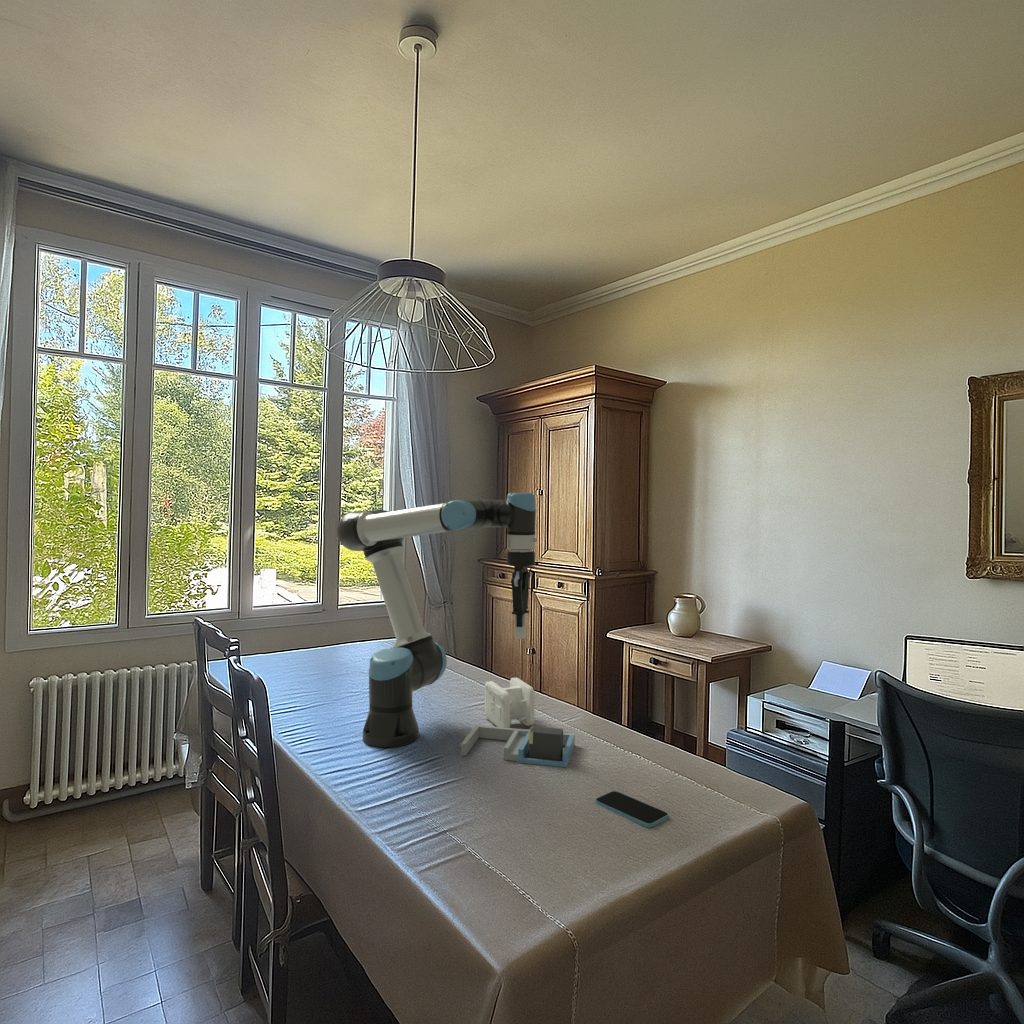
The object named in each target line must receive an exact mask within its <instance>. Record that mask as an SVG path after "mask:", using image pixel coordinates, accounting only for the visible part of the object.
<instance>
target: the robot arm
mask: <svg viewBox="0 0 1024 1024" xmlns="http://www.w3.org/2000/svg"><path fill="white" fill-rule="evenodd" d="M536 513H537V508H536V496H535V494H534V493H532V492H509V493H508V494H507V496H506V499H486V498H477V499H454V500H451V501H449V502H443V503H442V502H441V503H436V504H430V505H424V506H418V507H411V508H405V509H399V510H392V511H391V510H384V509H375V510H355V511H351V512H348V513H346V514H344V515H343V516H342V517H341V518H340V519H339V521H338V523H337V526H336V536H337V539H338V541H339V543H340V545H342V546H343V548H344V547H345V549H347V550H350V551H354V552H363V555H364V558H365V560H366V561H367V562H370V563H371V564H372V566H373V569H374V573H375V576H376V579H377V582H378V585H379V588H380V591H381V595H382V598H383V601H384V604H385V607H386V611H387V613H388V614H387V615H388V616H389V620H390V623H391V627H392V630H393V633H394V636H395V639H396V641H395V643H394V645H393V647H390V648H385V649H381V650H379V651H377V652H375V653H374V654H373V655H372V656H371V657H370V659H369V667H368V688H369V689H368V698H369V706H368V708H369V710H368V713H367V717H366V720H365V722H364V726H363V730H362V741H363V742H364V743H365V744H366V745H368V746H371V747H375V748H398V747H403V746H406V745H409V744H412V743H413V742H415V741H416V740H418V739H419V736H420V731H419V730H420V728H419V723H418V721H417V719H416V718H417V717H416V715H415V712H414V708H413V692H415V691H418V690H419V689H422V688H424V687H426V686H429V685H433V684H434V683H435V682H436V681H438V680H439V679H441V678H442V677H443V675H444V673H445V671H446V669H447V665H448V664H447V662H448V661H447V654H446V651H445V650H444V648H443V646H442V645H439V643H438V642H435V641H434V639H433V635H432V633H430V632H427V631H426V630H425V627H424V625H423V621H422V618H421V616H420V612H419V609H418V606H417V602H416V599H415V597H414V593H413V591H412V587H411V584H410V580H409V578H408V575H407V571H406V568H405V564H404V562H403V558H402V556H401V553H402V551H403V549H404V546H403V543H402V542H403V541H404V539H405V538H412V537H417V536H424V535H431V534H440V533H447V532H455V531H463V530H465V531H466V530H470V529H471V530H472V529H481V528H506V532H507V533H506V548H507V549H508V551H507V552H506V564H507V565H508V566H509V567H511V566H512V567H513V568H514V570H513V572H512V573H511V580H510V583H511V595H512V597H511V598H512V612H511V615H514V640H515V639H518V640H519V639H520V640H525V639H526V637H527V614H529V613H530V610H528V609H529V606H528V605H529V587H530V578H531V574H530V571H528V569H529V567H532V566H534V565H535V564H536V552H535V549H536V543H537V542H538V538H537V537H536Z"/></svg>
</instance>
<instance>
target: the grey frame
mask: <svg viewBox="0 0 1024 1024" xmlns="http://www.w3.org/2000/svg"><path fill="white" fill-rule="evenodd" d="M529 731H530V729H527V728H526V729H525V728H514V727H510V728H504V727H497V726H493V725H491V726H490V725H478V724H475V726H474V727H473V728H472V729H471V730H470V731H469V733H468V734H467V736H466V737H465V739H463V741H462V742H461V744H460V756H467V754H468V753H469V752H470V750H471V749H472V748H473V746H474V745H475V744H476V742H477V741H478V739H487V740H489V739H490V740H499V741H500V740H501V741H507V742H506V743H505V745H504V747H503V760H505V761H512V762H513V761H515V762H517V763H521V764H528V765H529V764H532V765H540V766H549V767H550V766H551V767H558V768H559V767H561V768H568V765H569V762H570V759H571V756H572V754H573V751H574V749H575V745H576V744H575V741H576V740H575V739H576V738H575V737H576V736H575V733H571V732H568V733H567V732H563V747H564V748H563V757H562V760H561V761H552V760H542V759H532V758H529V757H527V755H528V754H529Z"/></svg>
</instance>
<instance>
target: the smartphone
mask: <svg viewBox="0 0 1024 1024" xmlns="http://www.w3.org/2000/svg"><path fill="white" fill-rule="evenodd" d="M594 802H595V804H597V805H599V806H601V807H603V808H605V809H607V810H608V811H611V812H613V813H616V814H617V815H619V816H622V817H624V818H625V819H627V820H629V821H632V822H634V823H636V824H639V825H640V826H643V827H645V828H650V829H651V828H653V827H655V826H657V825H659V824H661V823H662V822H664V821H667V820H668V819H669V813H668V812H667V811H664V810H662V809H660V808H658V807H655V806H653V805H650V804H648V803H646V802H643V801H641V800H638V799H636V798H634V797H632V796H629V795H627V794H626V793H625V794H624V793H622V792H620V791H617V790H613V791H610V792H608V793H605V794H603V795H600V796H598V797H596V798H595V801H594Z"/></svg>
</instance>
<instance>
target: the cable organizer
mask: <svg viewBox="0 0 1024 1024" xmlns="http://www.w3.org/2000/svg"><path fill="white" fill-rule="evenodd" d="M535 696H536V694H535V691H534V688H533V686H531V685H529V684H528V683H527V682H525V681H523V680H522V679H520V678H519V677H517V676H516V677H511V678H510V682H509V687H501V686H500V685H499V684H498V683H496V682H494V681H493V680H492V681H491V680H490V681H486V682H485V683H484V713H485V717H486V719H488V721H489V722H491V723H492V724H493V725H494V726H495V727H504V728H511V726H512V720H519V723H523V725H525V727H530V726H534V724H535V713H536V712H535V704H536V701H535V700H536V699H535Z"/></svg>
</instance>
